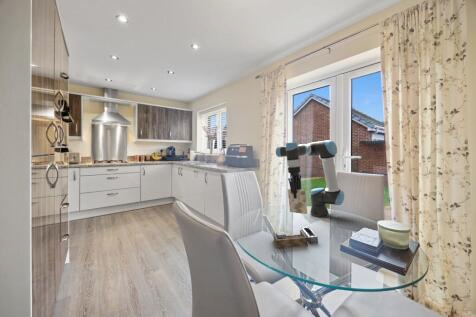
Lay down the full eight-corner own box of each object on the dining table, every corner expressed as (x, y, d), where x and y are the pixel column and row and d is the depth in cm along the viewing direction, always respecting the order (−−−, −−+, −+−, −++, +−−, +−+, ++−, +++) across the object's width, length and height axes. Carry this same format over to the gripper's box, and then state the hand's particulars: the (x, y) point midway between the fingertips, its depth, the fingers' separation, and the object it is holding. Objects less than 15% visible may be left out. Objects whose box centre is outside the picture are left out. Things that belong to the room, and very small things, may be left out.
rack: (302, 237, 133) (301, 229, 133) (307, 245, 121) (307, 237, 121) (274, 239, 134) (273, 232, 134) (277, 248, 122) (276, 240, 121)
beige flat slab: (307, 213, 124) (304, 189, 123) (306, 214, 122) (303, 190, 122) (291, 211, 131) (289, 188, 131) (290, 211, 130) (287, 189, 129)
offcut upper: (284, 235, 132) (283, 231, 132) (286, 238, 127) (285, 234, 127) (276, 236, 132) (276, 232, 132) (278, 239, 127) (277, 235, 127)
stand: (301, 233, 139) (301, 227, 139) (309, 232, 139) (309, 226, 139) (309, 243, 123) (308, 237, 123) (318, 242, 123) (317, 236, 123)
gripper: (294, 165, 134) (297, 199, 135) (282, 168, 123) (286, 205, 124) (304, 164, 129) (308, 200, 129) (293, 167, 118) (297, 206, 119)
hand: (297, 202), depth 127 cm, fingers closed on beige flat slab, 2 cm apart
